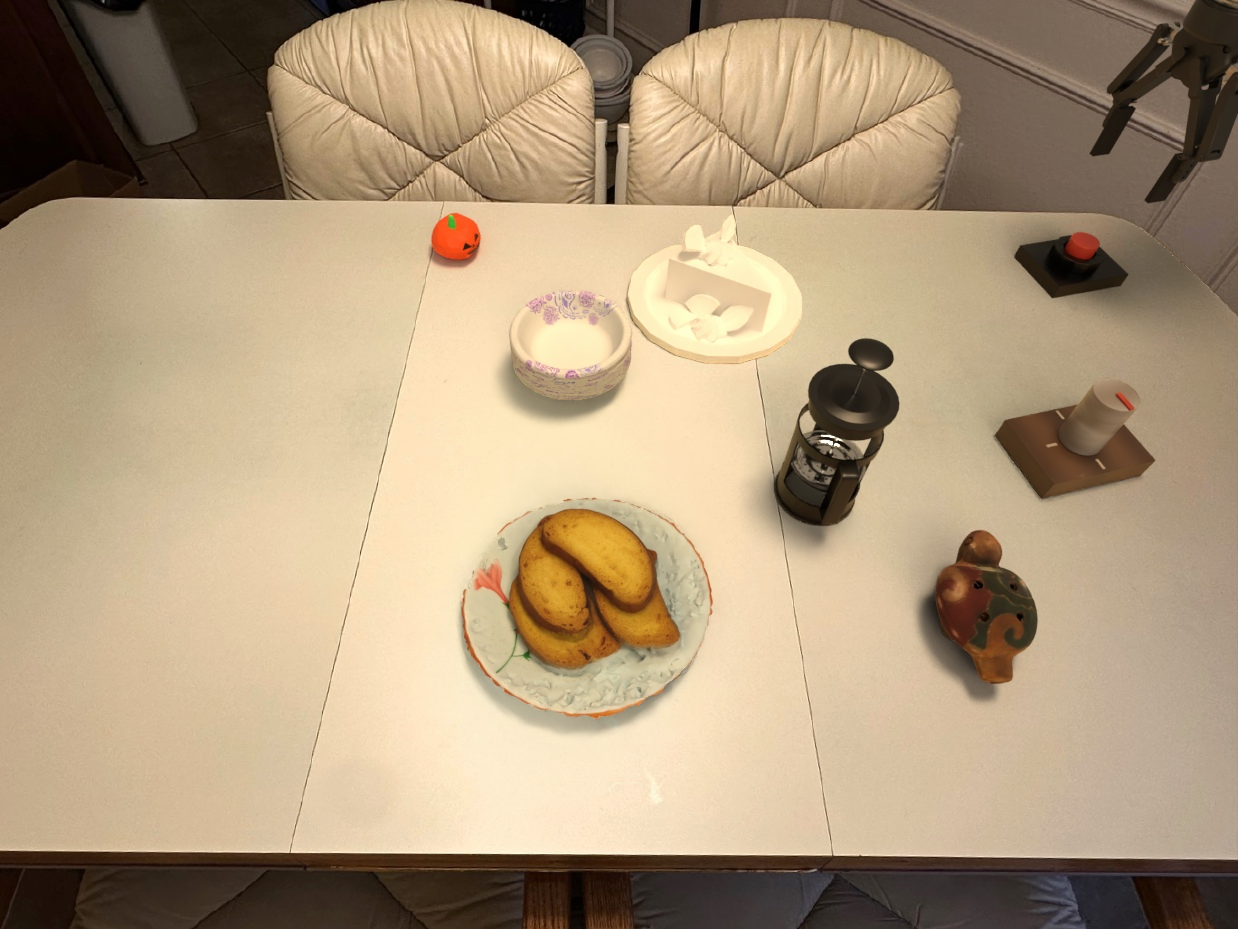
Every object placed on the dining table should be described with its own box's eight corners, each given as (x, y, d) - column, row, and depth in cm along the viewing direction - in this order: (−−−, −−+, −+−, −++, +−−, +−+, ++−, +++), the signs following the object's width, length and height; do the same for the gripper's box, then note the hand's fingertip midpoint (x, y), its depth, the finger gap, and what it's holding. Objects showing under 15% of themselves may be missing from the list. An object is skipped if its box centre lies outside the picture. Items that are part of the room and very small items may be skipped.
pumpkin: (483, 234, 115) (478, 198, 110) (480, 267, 110) (474, 231, 105) (436, 235, 115) (429, 198, 109) (431, 268, 110) (423, 231, 105)
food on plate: (435, 703, 71) (422, 677, 66) (498, 492, 86) (492, 458, 81) (699, 744, 69) (708, 721, 64) (717, 522, 84) (725, 488, 79)
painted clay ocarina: (988, 557, 82) (1026, 522, 76) (1032, 694, 74) (1080, 669, 67) (903, 555, 82) (935, 520, 75) (938, 694, 73) (977, 669, 67)
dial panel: (1089, 414, 96) (1102, 398, 93) (1141, 475, 90) (1156, 459, 87) (994, 435, 93) (1005, 418, 91) (1041, 498, 87) (1054, 483, 85)
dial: (1049, 427, 90) (1085, 380, 83) (1084, 420, 91) (1122, 372, 84) (1074, 459, 87) (1113, 413, 81) (1110, 451, 88) (1152, 404, 82)
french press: (768, 455, 90) (812, 310, 72) (845, 456, 90) (909, 312, 72) (781, 538, 83) (833, 401, 65) (864, 539, 83) (940, 403, 65)
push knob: (1081, 241, 112) (1088, 230, 110) (1098, 258, 110) (1106, 246, 108) (1058, 245, 111) (1065, 233, 110) (1075, 262, 109) (1082, 250, 107)
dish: (592, 294, 107) (592, 227, 98) (714, 228, 117) (724, 162, 108) (713, 391, 96) (725, 326, 87) (836, 309, 107) (858, 243, 98)
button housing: (1079, 245, 117) (1093, 224, 114) (1120, 286, 111) (1136, 264, 108) (1013, 256, 115) (1025, 234, 112) (1052, 298, 109) (1065, 276, 106)
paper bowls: (531, 429, 92) (526, 385, 85) (502, 347, 100) (496, 301, 94) (646, 401, 95) (650, 357, 89) (609, 324, 104) (610, 278, 97)
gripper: (1141, -41, 89) (1050, 135, 107) (1293, 46, 76) (1161, 231, 93) (1192, -46, 90) (1095, 129, 108) (1351, 39, 77) (1210, 222, 95)
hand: (1125, 176), depth 101 cm, fingers open, 11 cm apart
